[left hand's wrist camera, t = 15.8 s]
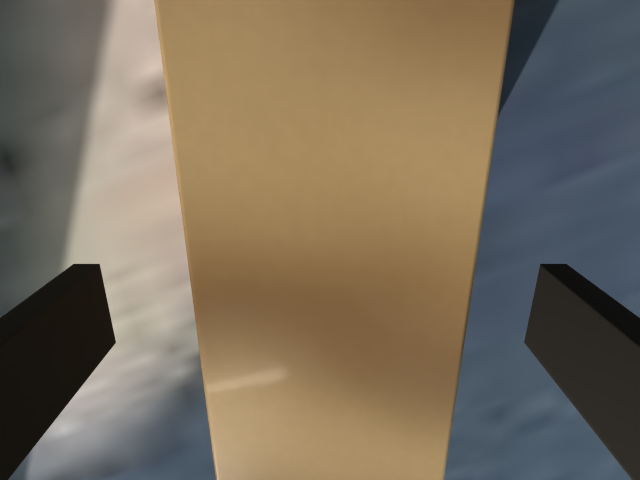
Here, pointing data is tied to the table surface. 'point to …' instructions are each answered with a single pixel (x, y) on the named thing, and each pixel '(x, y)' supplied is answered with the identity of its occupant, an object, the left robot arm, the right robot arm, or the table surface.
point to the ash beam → (332, 221)
